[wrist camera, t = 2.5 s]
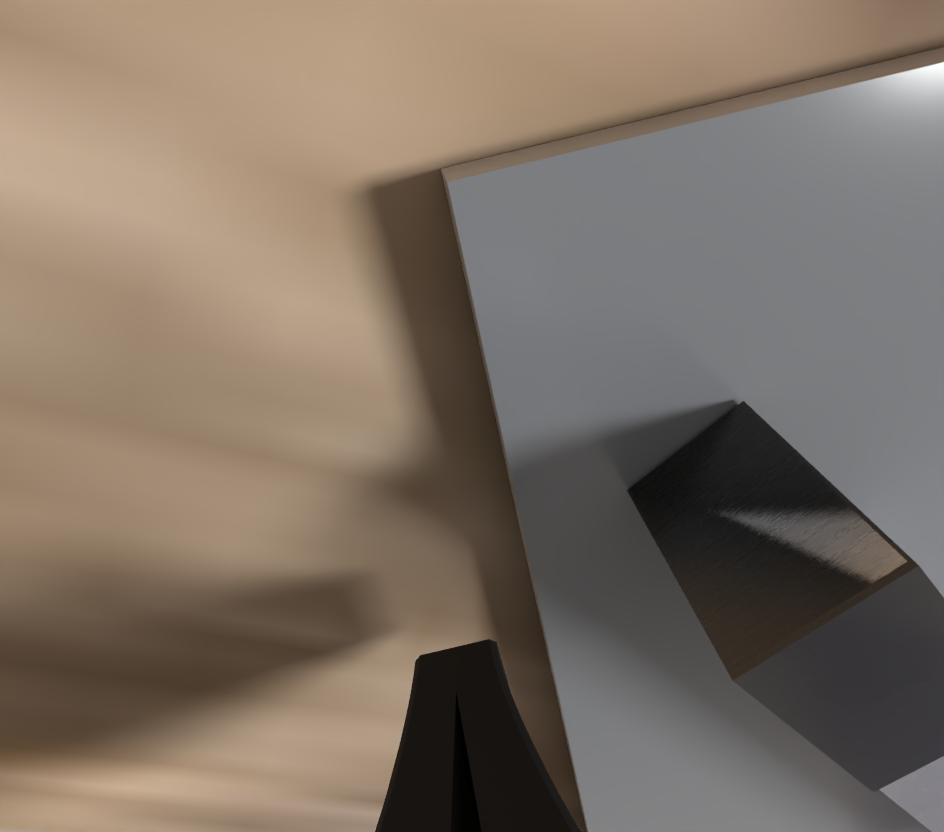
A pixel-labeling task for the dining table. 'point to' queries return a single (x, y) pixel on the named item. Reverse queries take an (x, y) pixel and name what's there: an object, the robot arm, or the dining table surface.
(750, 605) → the bar
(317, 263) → the dining table surface
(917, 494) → the slate board
